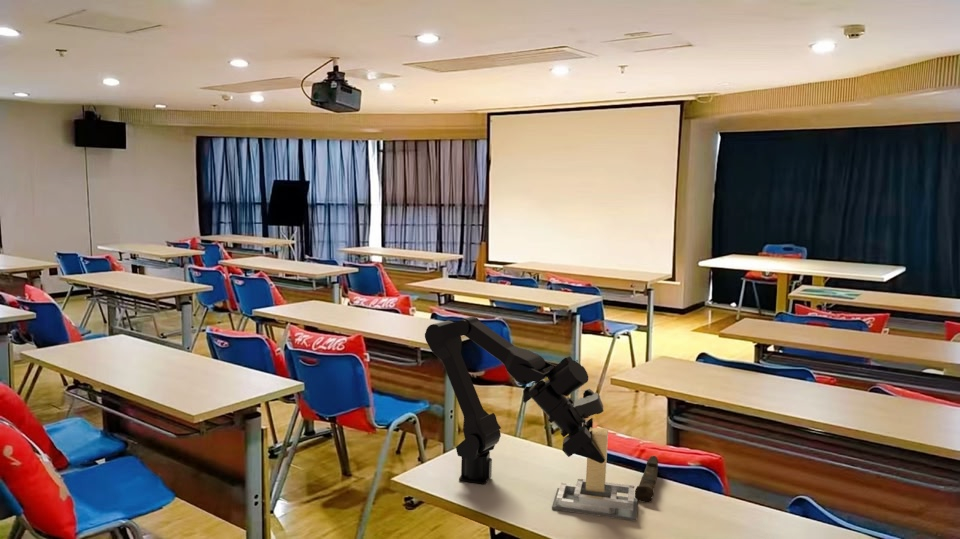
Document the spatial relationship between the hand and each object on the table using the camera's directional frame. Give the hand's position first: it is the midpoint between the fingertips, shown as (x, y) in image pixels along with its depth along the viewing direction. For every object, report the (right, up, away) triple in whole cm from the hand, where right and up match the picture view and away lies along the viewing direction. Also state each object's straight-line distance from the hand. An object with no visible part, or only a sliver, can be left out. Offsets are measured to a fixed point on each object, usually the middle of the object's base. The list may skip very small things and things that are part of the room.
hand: (603, 457), depth 146 cm
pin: (-2, -7, +1) cm, 7 cm away
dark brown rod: (+13, -10, +12) cm, 20 cm away
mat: (-2, -11, +1) cm, 11 cm away
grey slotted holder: (-2, -11, +1) cm, 11 cm away
